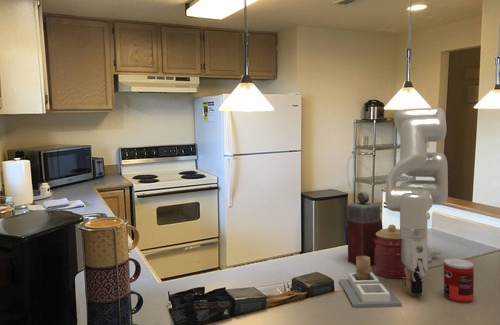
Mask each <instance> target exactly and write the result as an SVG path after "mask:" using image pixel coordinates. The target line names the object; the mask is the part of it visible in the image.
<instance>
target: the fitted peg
mask: <svg viewBox="0 0 500 325" xmlns="http://www.w3.org/2000/svg"><path fill="white" fill-rule="evenodd" d="M355 267H356V268H355V270H356V272H355V273H356V280H357V281H358V280H370V272H371V266H370V257H368V256H357V257H356V265H355Z"/></svg>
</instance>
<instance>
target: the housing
mask: <svg viewBox="0 0 500 325" xmlns="http://www.w3.org/2000/svg"><path fill="white" fill-rule="evenodd" d="M347 273H348V274H347V275H348V279H347V278H346V279H345V278H341V279H340V278H339V279H338V282H339V285H340V286H341V288H342V290H343V291H344V290H345V292H346V294H347V295H348V297H349V299H350V301H351V302H350V301H349V302H350V304H351V303H352V304H351V305H353V306H352V307H361V308H391V307H394V308H395V307H397V308H398V307H400V308H401V307H402V302H401V301H400V300H399V298H398V297H397V296H396V295H395V294H394V292H392V291H391V289H390V288H389V287H388V286H387V285H386V283H385V282H384V281H383V280H382V279H381V278H380V277H379V278H377V276H376V275H375V274H374V273H373V272H372V271H370V280H358V281H357V280H356V272H347ZM345 292H344V293H345ZM346 294H345V295H346ZM347 295H346V296H347ZM348 297H347V298H348ZM349 299H348V300H349Z"/></svg>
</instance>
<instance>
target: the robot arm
mask: <svg viewBox="0 0 500 325" xmlns="http://www.w3.org/2000/svg"><path fill="white" fill-rule="evenodd" d="M393 122H394V126H395V128H396V130H397V132H398V134H399V136H400V137H399V138H400V142H399V145H400V148H399V161H398V162H397V163H395V165H394V166H393V167H392V168H391V169H390V171H389V173H388V174H387V176H386V181H385V207H386V208H387V209H388V210H390V211H392V212H399V223H400V224H399V227H400V228H399V229H400V237H401V238H402V243H401V260H402V263H403V264H404V267H405V270H404V273H405V278H404V286H405V287H404V288H406V266H407V267H408V269H410V270H411V271H412V280H411V293H412V294H421V295H422V294H423V281H424V280H423V279H424V278H425V276H426V274H425V272H429V262H432V260H433V257H432V255H441V250H440V249H439V248H438V249H435V248H432V247H431V248H430V247H428V214H427V213H428V211H430V210H431V209H432V207H433V206H440V205H441V206H442V205H445V204H446V203H447V201H448V196H449V195H448V194H449V188H448V187H449V180H448V178H449V177H448V176H449V174H448V171H449V169H448V168H449V167H448V160H447V157H446V155H445V154H444V153H442V152H438V151H437V152H430V151H428V150H427V149H428V146H427V145H428V144H427V143H430V142H435V143H436V142H443V141H444V140H445V138H446V136H447V120H446V114H445V111H444V109H443V108H441V107H425V108H423V107H422V108H421V107H419V108H406V109H401V110H398V111H396V112H395V113H394V115H393ZM403 174H404V175H406V176H407V177H415V178H417V177H418V178H433V179H434V180H432V179H429V180H428V179H426V180H425V179H407V180H403V181H402V182H400V184H399V187H398V188H395V184H396V181H397V179H399V177H401V176H403ZM415 269H418V270H415ZM415 273H418V274H416V276H415Z"/></svg>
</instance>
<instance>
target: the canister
mask: <svg viewBox="0 0 500 325" xmlns="http://www.w3.org/2000/svg"><path fill="white" fill-rule="evenodd" d="M376 235H377V237H375V238H374V239H373V241H374V242H375V247H374V248H373V250H374V266H373V271H374V273H375V274H376V275H378V276H381V277H384V278H387V279H388V278H389V279H403V278H402V277H405V273H404V270H405V267H404V264H403V263H402V260H401V243H402V238H401V237H400V228H397V227H396V225H394V224H389V225H388V228H383V229H381V230H380V231H378V232H376Z"/></svg>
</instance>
